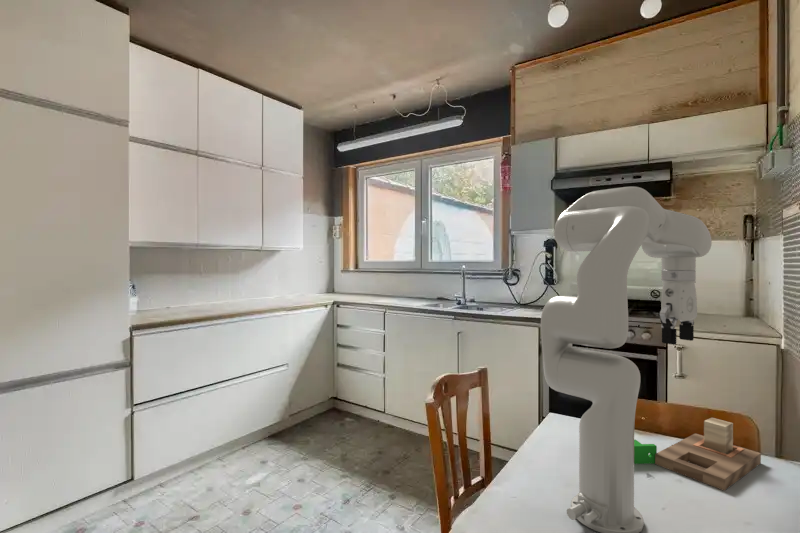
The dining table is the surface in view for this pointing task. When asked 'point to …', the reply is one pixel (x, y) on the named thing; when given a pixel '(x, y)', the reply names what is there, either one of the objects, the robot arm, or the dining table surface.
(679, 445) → the socket plate
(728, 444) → the maple peg
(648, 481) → the dining table surface
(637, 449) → the pipe clamp
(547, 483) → the dining table surface
